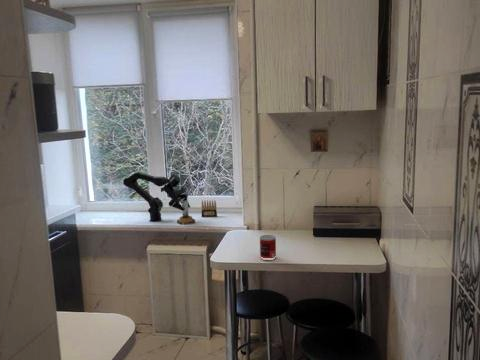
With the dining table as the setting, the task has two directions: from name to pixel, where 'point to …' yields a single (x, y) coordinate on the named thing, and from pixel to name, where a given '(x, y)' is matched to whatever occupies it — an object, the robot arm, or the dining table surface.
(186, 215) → the drive pin
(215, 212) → the ammunition clip
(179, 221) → the sprocket
